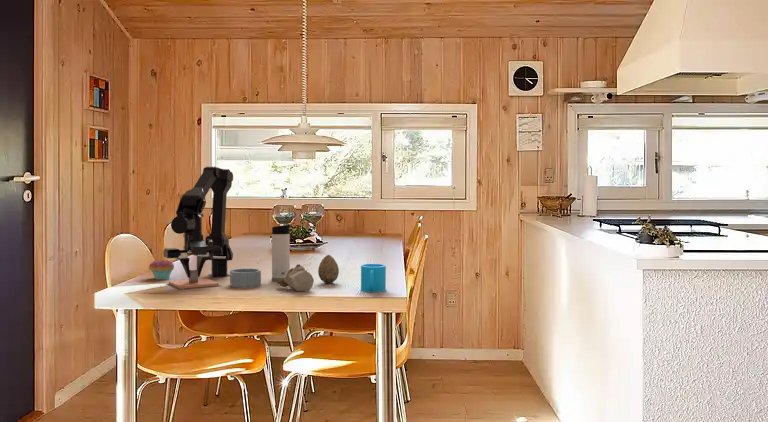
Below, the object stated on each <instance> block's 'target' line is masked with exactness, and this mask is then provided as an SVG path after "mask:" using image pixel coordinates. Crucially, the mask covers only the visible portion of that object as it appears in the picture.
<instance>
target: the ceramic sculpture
mask: <svg viewBox="0 0 768 422" xmlns="http://www.w3.org/2000/svg"><path fill="white" fill-rule="evenodd" d="M314 281H315V280H314V277H313V275H312V274H311V273H310V271H307V270H306V269H305V267H304V266H302V265H301V264H298V263H297V264H296V265H295V267H290V270H289V271H288V273H287V275H286V279H281V280H277V281H276V283H277V284H278V285H279V286H281V287H284V288H290V289H292V290H295V291H297V292H302V293H304V292H308V291H310V290H311V289H312V287H313V285H314Z"/></svg>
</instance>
